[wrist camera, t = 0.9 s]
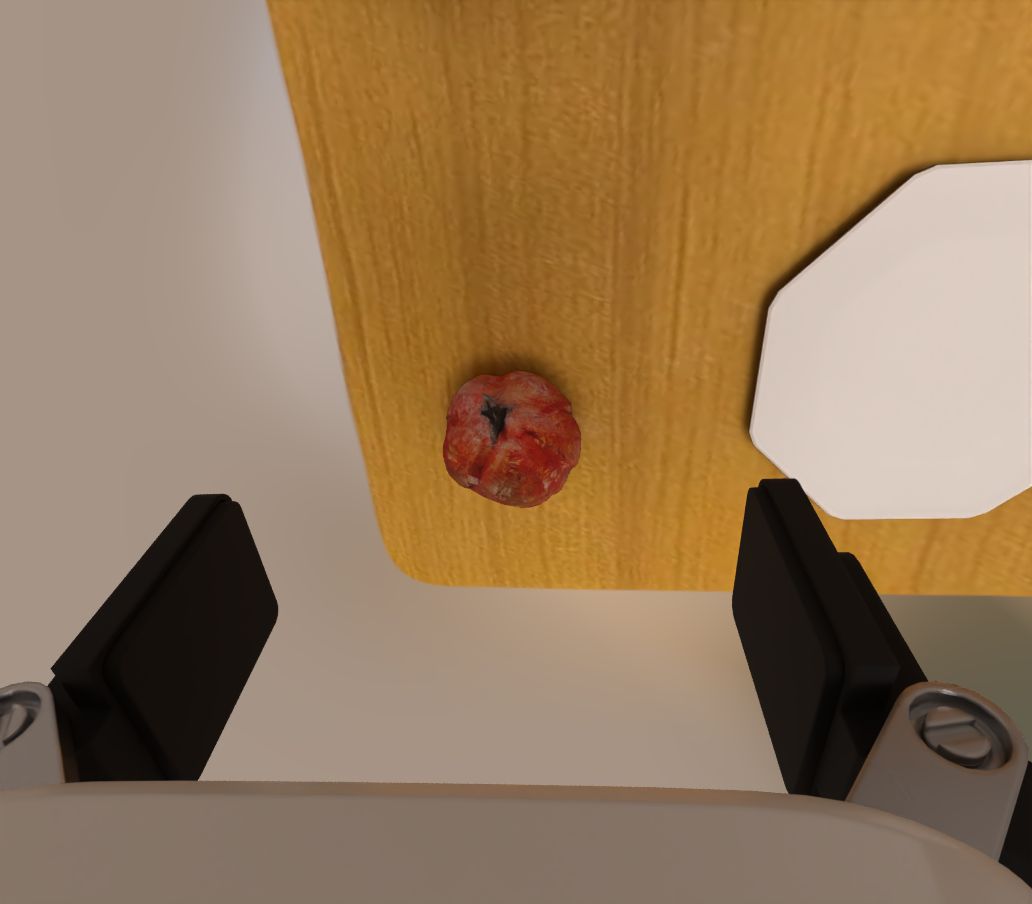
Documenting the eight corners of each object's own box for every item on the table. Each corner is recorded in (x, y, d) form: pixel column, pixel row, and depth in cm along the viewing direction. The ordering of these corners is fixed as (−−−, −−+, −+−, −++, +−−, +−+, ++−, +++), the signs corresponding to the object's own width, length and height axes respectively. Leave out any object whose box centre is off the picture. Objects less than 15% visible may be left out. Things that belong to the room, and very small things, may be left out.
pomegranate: (586, 423, 40) (594, 342, 31) (570, 537, 38) (574, 486, 28) (470, 408, 41) (444, 325, 32) (447, 519, 38) (411, 464, 29)
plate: (1064, 502, 39) (1081, 518, 37) (730, 507, 40) (736, 522, 39) (1242, 143, 28) (1274, 147, 27) (780, 168, 30) (790, 173, 28)
